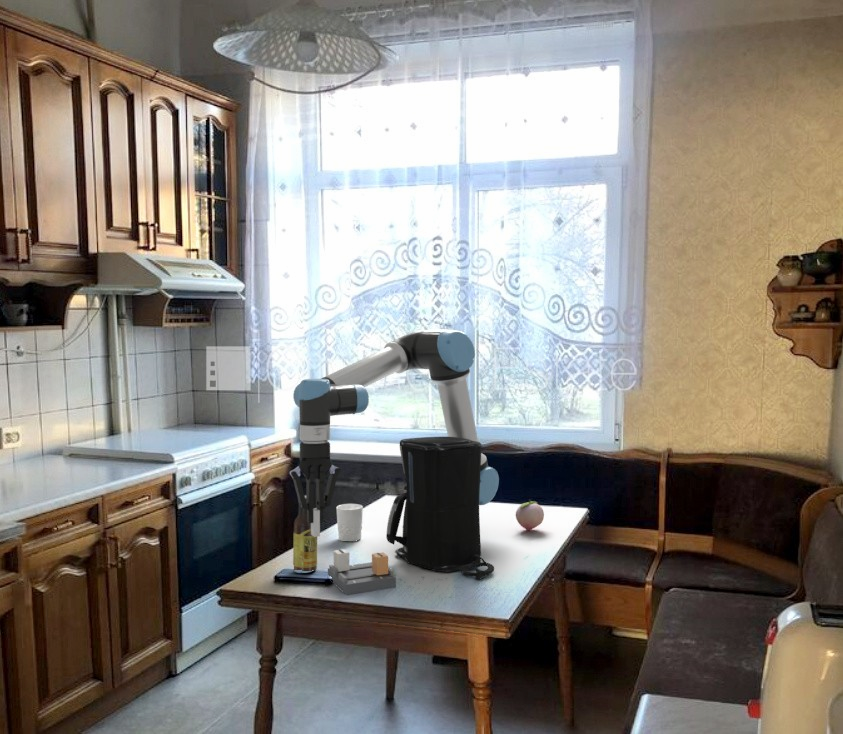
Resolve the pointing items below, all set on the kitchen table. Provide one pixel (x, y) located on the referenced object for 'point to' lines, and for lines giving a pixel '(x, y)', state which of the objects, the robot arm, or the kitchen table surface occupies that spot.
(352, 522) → the white cup
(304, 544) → the sauce bottle
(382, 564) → the orange fader
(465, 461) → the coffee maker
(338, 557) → the white fader
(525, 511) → the decorative fruit
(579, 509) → the kitchen table surface
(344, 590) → the panel
